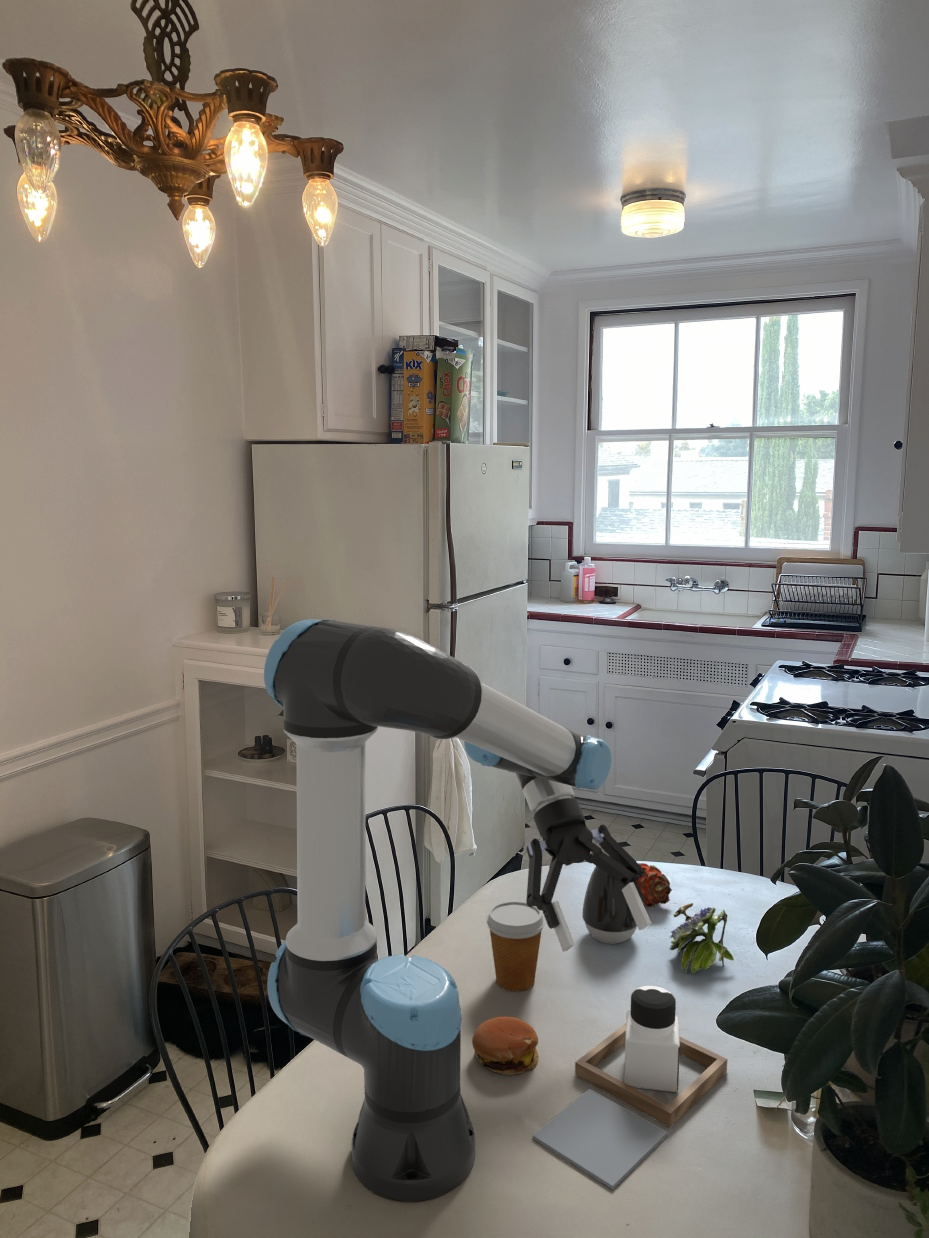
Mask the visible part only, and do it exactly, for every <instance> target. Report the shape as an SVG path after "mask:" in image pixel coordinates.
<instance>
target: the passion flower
mask: <svg viewBox="0 0 929 1238" xmlns="http://www.w3.org/2000/svg"><path fill="white" fill-rule="evenodd" d="M693 906H694V903H693V902H691V903H688V904H685V905H683V906H680V907H679V908H678V909H677V910H676V911H675V912H674V913H673V918H677V917H679V916H680V915H683V916H685V919H684V922H682V923H681V924H679V926H677V927H675V929H673V930H672V931H670V932H671V935H669V936H668V938H669V939H671V938H672V939H673V940H671V941H670V943H671V945H670V947H669V950H670V951H674V950H677V952H678V953H680V951H683V954H682V958H681V963H680V964H681V969H682V970H683V972H684V973H686V974H687V973H688V968H689V966H690V965H691V966H690V972H691V973H692V974H694V973H697V972H698V971H700V970H703V971H705V970H708V969H709V968H710V967H711V966H713V964H714V963H715V961H716V958H717V954H719V957H718V961H719V962H721V964H722V967H724V966H725V965H724V964H725V963H724V962H725V961H724V959H726V960H729V961H734V956H733V954H732V953H731V952H730V951H729V950H728V947H727V946H724V936H725V929H726V925H727V922H728V914H727V913H726V911H725V909H723V910H722V911H721V912H720V913H719V914H717V915H716V914H715V912H716V908H715V907H709V906H708V907H704V909H703V908H701V909H700V911H699V912H696V913H695V914H694V916H690V915H688V914H687V910H689V909H690V908H692V907H693ZM714 914H715V915H714ZM722 921H723V926H722V932H721V936H720V939H719V940H718V941H717V942H715V941H714V934H715V932H716V930H717V929H716V927H717V925H718V923H721V922H722ZM706 925H707V927H706V929H707V931H705V929H704V927H705V926H706ZM698 937H703V938H702V939H701V940H697V938H698ZM717 952H718V953H717Z"/></svg>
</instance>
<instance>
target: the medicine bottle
mask: <svg viewBox="0 0 929 1238" xmlns="http://www.w3.org/2000/svg"><path fill="white" fill-rule="evenodd" d="M676 1005H677V1001H676V998H675V996H674V995H673V993H671V992H670V991H669V990H667V989H666V988H663V987H661V986H655V985H644V986H640V987H637V988H636V989H635V990H633V992H631V994H630V1010H627V1011H626V1022H625V1023H626V1039H625V1044H624V1047H625V1048H624V1050H625V1051H624V1081H623V1082H624V1083H626V1084H628V1085H630V1086H632V1087H633V1088H635V1089H645V1090H652V1091H661V1092H669V1093H677V1092H679V1081H680V1080H679V1078H680V1075H679V1073H680V1054H679V1051H680V1043H679V1036H680V1027H679V1023H680V1022H679V1017H678V1016H677V1015H676V1009H677V1008H676V1007H677V1006H676Z"/></svg>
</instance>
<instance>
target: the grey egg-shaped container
mask: <svg viewBox="0 0 929 1238" xmlns="http://www.w3.org/2000/svg"><path fill="white" fill-rule="evenodd" d="M608 856H609V855H608ZM609 857H610V856H609ZM624 887H625V886H624V885H623V884H621V883H620V882H619V881H617V880H616V879H614V878H613V877H611V876H610V875H609V874H607V873H606V872H604V871H603V870H601V869H600V868H599V867H597V866H596V865H595V867H593V871H592V872H591V875H590V878H589V880H588V883H587V887H586V891H585V895H584V899H583V905H582V920H583V921H584V925H585V927H586V929H587V931H588V933H589V934H590V936H592V937H593V938H594V939H596V940H597V941H599V942H601V943H605V944H611V945H615V944H617V945H618V944H620V943H623V942H626V941H628V940H630V939H631V938H632V937H633V935H634V934H635V932H636V930H637V929H638V927H637V924H636V922H635V920H634V917H633V915H632V913H631V910H630V908H629V906H628V903H627V901H626V899H625V897H624V894H623V892H622V889H623V888H624Z"/></svg>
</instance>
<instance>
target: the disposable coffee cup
mask: <svg viewBox="0 0 929 1238" xmlns="http://www.w3.org/2000/svg"><path fill="white" fill-rule="evenodd" d="M485 919H486V924H487V927H488V929H489V933H490V943H491V949H492V957H493V963H494V964H493V965H494V972H495V979H496V980H495V981H496V984H497V986H498V987H500V988H501V989H503V990H505V991H510V992H524V991H527V990H530V989H531V988H532V987H533V986H534V984H535V979H536V971H537V968H538V967H537V965H538V959H539V953H540V952H539V951H540V946H541V945H540V944H541V938H542V931H543V928H544V926H545V924H546V919H545V917H544V915H543V911H542V910H541V911H540V910H538V909H537V907H536V906H532V907H529V906H528V905H527V904H526V901H521V900H509V901H507V900H506V901H502V902H500V903H497V904H494V905H493V906H492V907H491V908H490V909H489V912H488V915H487V916H486V918H485Z"/></svg>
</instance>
